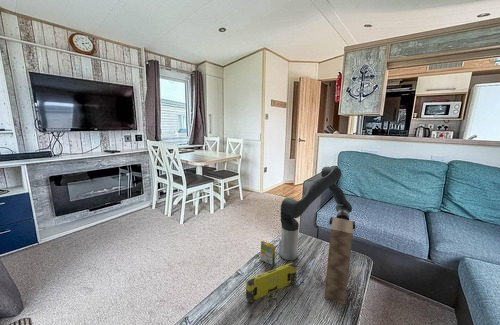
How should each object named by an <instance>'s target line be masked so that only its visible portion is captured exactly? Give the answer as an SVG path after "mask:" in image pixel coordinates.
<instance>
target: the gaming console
mask: <svg viewBox="0 0 500 325" xmlns="http://www.w3.org/2000/svg"><path fill="white" fill-rule="evenodd" d="M297 269H298V268H297V265H296V264H295V263H294V262H289V263H286V264H284V265H281V266H279V267H276V268H274V269H272V270H271V269H270V270H269V271H266V272H264V273H261V274H258V275H256V276H253V277H251V278H249V279H246V280H247V281H246V284H245V285H246V286H245V287H246V288H245V298H246V301H248V302H249V303H254V302H255V301H256V300H259V299H260V298H263V297H265V296H267V295H270V294H272V293H273V292H276V291H278V290H281V289H283V288H285V287H287V286H291V285H293V284H295V283H296V279H297Z"/></svg>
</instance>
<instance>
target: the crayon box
mask: <svg viewBox="0 0 500 325" xmlns="http://www.w3.org/2000/svg"><path fill="white" fill-rule="evenodd" d="M259 259H260V261H262V262H265V263H267V264H270V265H271V266H273V264H274V263H275V261H276V245H275V244H274V243H273V244H272V243H270V242H267V241H263V240H260V258H259Z"/></svg>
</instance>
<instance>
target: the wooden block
mask: <svg viewBox="0 0 500 325" xmlns="http://www.w3.org/2000/svg"><path fill="white" fill-rule="evenodd" d="M332 217H333V216H332ZM353 221H354V220H350V219H349V220H345V219H340V218H336V217H333V220H332V224H331V225H330V226H331V227H330V232H329V233H330V234H329V245H328V255H327V266H326V274H325V275H326V276H325V277H326V278H325V287H324V295H323V296H324V298H323V299H327V300H329V301H331V302H335V303H338V304H341V305H344V306H345V305H346V296H347V290H348V289H347V288H348V279H349V272H350V271H349V270H350V260H351V255H352V254H351V252H352V244H353V238H354V237H353V236H354V229H353Z"/></svg>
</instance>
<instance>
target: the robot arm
mask: <svg viewBox="0 0 500 325" xmlns="http://www.w3.org/2000/svg"><path fill="white" fill-rule="evenodd" d="M320 175H321V177H319V178H316V179H313V180H312V181H310V182H309V183H308V184H307V185H306V186H305V187H304V188H303V189H304V190H303V197H302V198H301V199H298V200H296V199H294V198H291V197H285V198H284V199H283V200H282V202H281V203H280V204H281V205H280V223H281V232H280V234H281V235H280V238H279V243H278V255H279V256H280V257H281V258H282V259H284V260H285V261H294V260H296V259H297V258H298V257H297V256H298V243H299V231H300V230H299V227H300V225H299V222H298V220H296V219H298V218H301V216H302V215H303V214H304V213H305V212H306V210H307V209H308V208H309V207H310V205H312V203H313V202H314V201H316V200H317V198H319V197H321V195H322V194H323V193H324V192H326V190H327V189H329V191H330V193H331V194H332V196H333V199H334V202H335V203H336V205H335V210H336V217H335V218H340V219H345V220H350V213H352V211H353V207H352V205H351V203H350V202H349V201H348V199H347V198H346V195H345V193H344V191H343V189H342V188H341V187H339V186H338V184H336V183H337V182H338V181H339V180H340V179H341V176H342V170H341V168H339V167H337V166H324V167H322V169H321V171H320ZM329 218H330V219H329V223H328V224H329V225H330V226H332V220H333V216H330V217H329ZM352 221H353V231H354V230H356V227H357V226H356V225H357V224H356V222H355V221H354V220H352Z"/></svg>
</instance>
